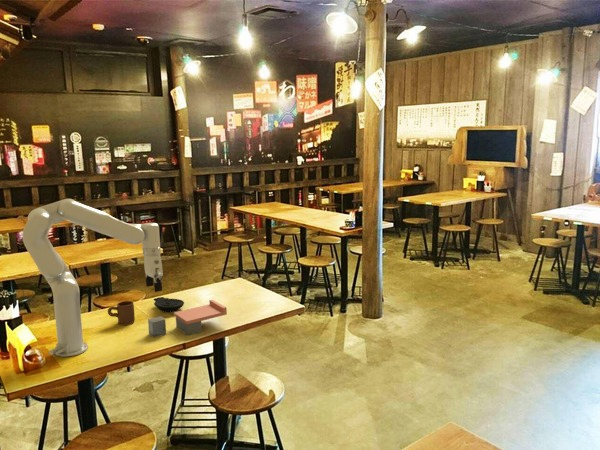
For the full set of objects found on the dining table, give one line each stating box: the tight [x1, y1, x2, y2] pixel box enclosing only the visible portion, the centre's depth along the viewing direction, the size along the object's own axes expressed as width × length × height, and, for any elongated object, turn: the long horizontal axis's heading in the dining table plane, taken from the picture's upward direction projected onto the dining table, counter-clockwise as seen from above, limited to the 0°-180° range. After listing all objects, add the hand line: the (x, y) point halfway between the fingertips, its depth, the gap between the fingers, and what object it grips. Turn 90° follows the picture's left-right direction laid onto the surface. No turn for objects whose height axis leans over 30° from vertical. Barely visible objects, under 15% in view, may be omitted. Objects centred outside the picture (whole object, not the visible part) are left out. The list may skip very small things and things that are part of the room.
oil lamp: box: [153, 296, 185, 314], centre depth 254 cm, size 15×20×5 cm
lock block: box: [147, 315, 167, 338], centre depth 222 cm, size 6×5×7 cm
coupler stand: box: [173, 299, 228, 336], centre depth 231 cm, size 20×14×9 cm
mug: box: [107, 300, 136, 326], centre depth 235 cm, size 12×8×9 cm, turn 125°
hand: (154, 288), depth 221 cm, fingers open, 9 cm apart
